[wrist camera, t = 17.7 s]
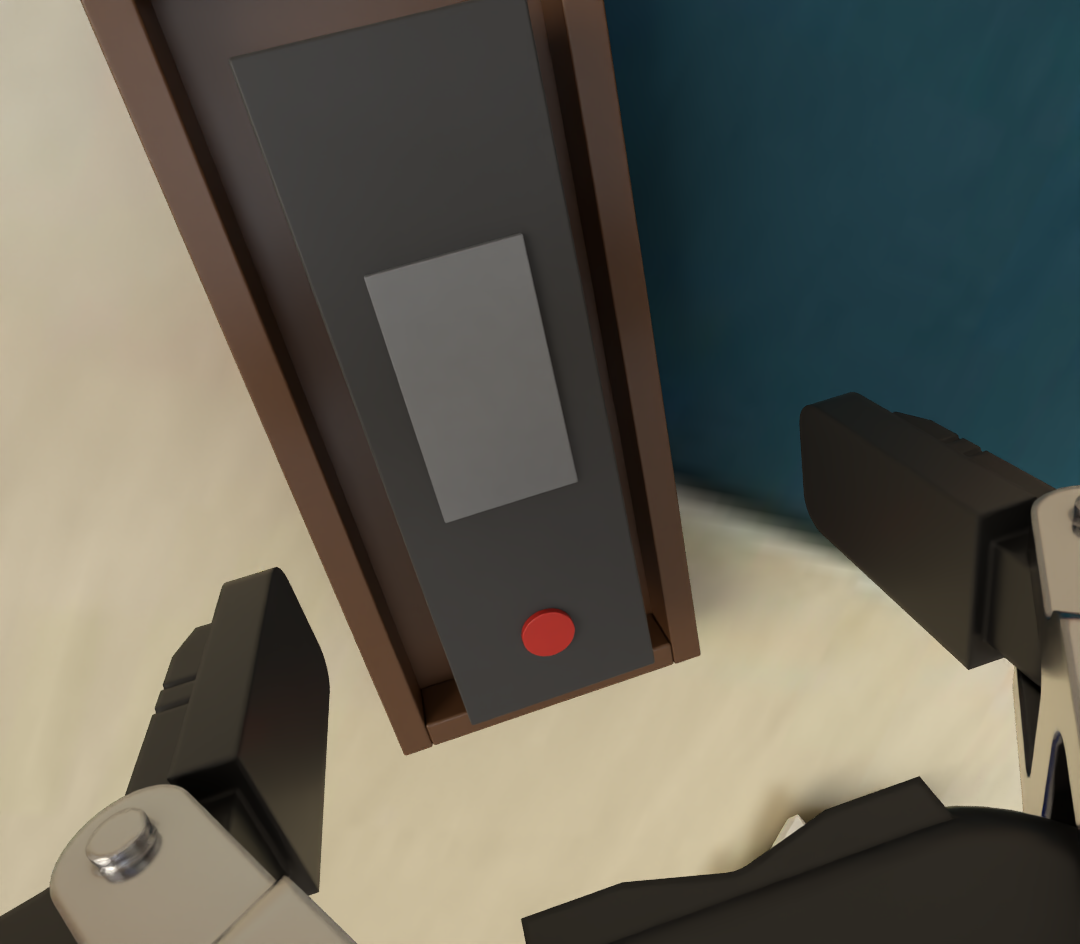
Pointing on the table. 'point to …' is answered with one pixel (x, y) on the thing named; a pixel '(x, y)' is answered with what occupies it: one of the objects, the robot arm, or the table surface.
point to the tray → (303, 342)
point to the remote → (461, 334)
